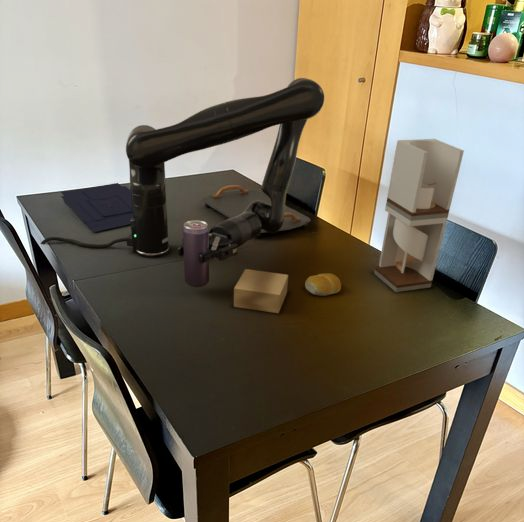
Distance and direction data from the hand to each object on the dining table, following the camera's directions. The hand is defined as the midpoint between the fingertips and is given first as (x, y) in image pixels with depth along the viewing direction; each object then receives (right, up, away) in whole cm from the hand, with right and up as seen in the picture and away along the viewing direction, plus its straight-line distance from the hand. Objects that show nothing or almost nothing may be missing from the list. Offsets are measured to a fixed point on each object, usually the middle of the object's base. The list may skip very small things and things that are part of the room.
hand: (189, 255), depth 128 cm
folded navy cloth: (-33, +23, +52) cm, 66 cm away
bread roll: (+33, -7, +12) cm, 35 cm away
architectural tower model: (+55, -3, +19) cm, 58 cm away
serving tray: (+14, +22, +54) cm, 60 cm away
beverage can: (+1, -6, +6) cm, 9 cm away
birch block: (+17, -10, +6) cm, 20 cm away
